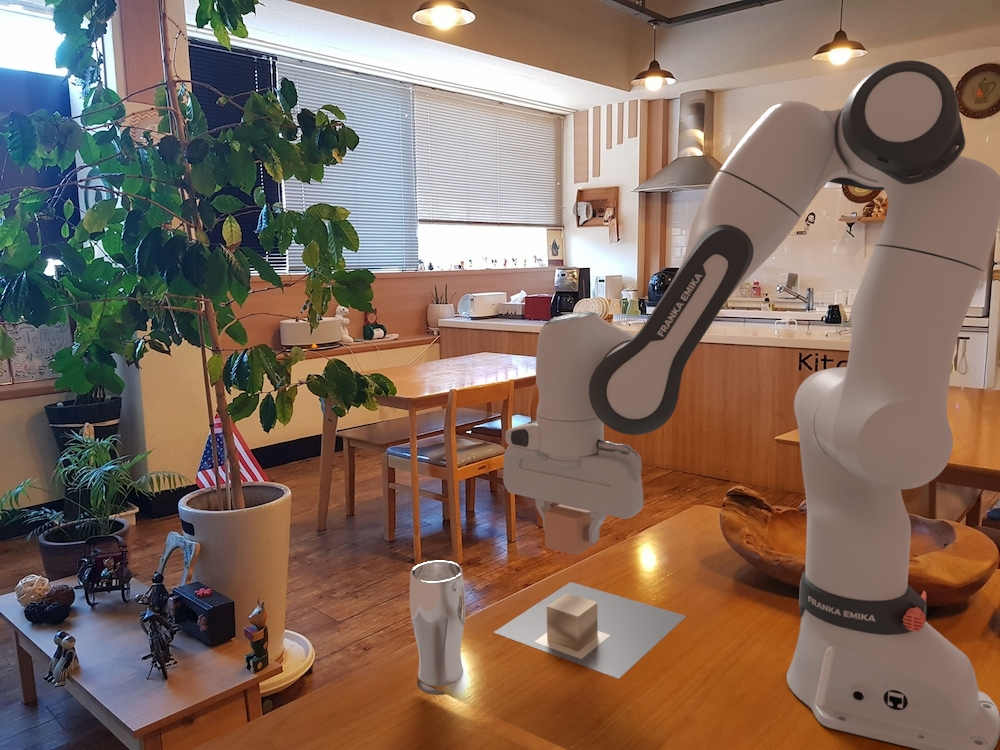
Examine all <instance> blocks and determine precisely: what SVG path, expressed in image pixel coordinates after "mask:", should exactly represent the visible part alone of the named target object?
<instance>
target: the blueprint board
mask: <svg viewBox="0 0 1000 750" xmlns="http://www.w3.org/2000/svg"><path fill="white" fill-rule="evenodd" d="M566 593H568V594H572V595H575V596H578V597H582V598H585V599H588V600H591V601H595V602H597V619H598V636H597V637H596V638H595V639H594V640H592V641H591V642H590V643H588V644H587V645H586V646H585V647H583V648H582V649H581V650H580V651H575V650H572V649H569V648H567V647H564V646H561V645H558V644H555V643H553V642H550V641H547V606H548V605H550V604H551V603H553V602H554V601H556V600H557V599H559V598H560V597H562V596H563V595H565V594H566ZM686 618H687V615H684V614H681V613H677V612H674V611H672V610H667V609H664V608H661V607H657V606H654V605H650V604H647V603H643V602H640V601H636V600H633V599H630V598H627V597H626V598H625V597H624V596H620V595H616V594H614V593H611V592H610V593H609V592H606V591H603V590H599V589H596V588H593V587H588V586H586V585H583V584H579V583H576V582H572V581H570V582H568V583H567V584H565V585H563V586H562V587H560V588H558V590H555V592H553V593H551V594H549V595H548V596H547V597H545V598H543V600H541V601H539V602H537V603H536V604H535V605H533V606H531V607H530V608H528V609H527V610H526V611H524V612H522V613H521V614H519V615H518V616H516V617H515V618H513V619H511V620H510V621H508V622H507V623H505V624H504V625H502V626H500V627H499V628H498V629H497V630H496V629H495V631H493V633H494V634H497V635H499V636H502V637H503V638H507V639H510V640H513V641H515V642H517V643H521V644H523V645H526V646H528V647H531V648H534V649H536V650H539V651H542V652H544V653H548V654H550V655H552V656H556V657H558V658H561V659H563V660H566V661H569V662H571V663H574V664H577V665H580V666H582V667H586V668H587V669H590V670H593V671H596V672H598V673H601V674H604V675H607V676H610V677H611V678H615V679H618V680H619V679H620V678H622V677H623V676H624V675H625V674H626V673H627V672H628V671H629V670H631V668H632V667H634V665H636V663H638V662H639V661H641V660H642V658H643V657H644V656H646V654H648V653H649V651H651V650H652V649H653V648H654V647H655V646H657V644H658V643H659V642H660V641H662V640H663V639H664V638H665V637H666V636H667V635H668V634H669V633H670V632H672V630H674V629H675V627H677V626H678V625H679V624H680V623H681V622H683V620H685V619H686Z"/></svg>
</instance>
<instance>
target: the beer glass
mask: <svg viewBox="0 0 1000 750" xmlns="http://www.w3.org/2000/svg"><path fill="white" fill-rule="evenodd" d="M463 573H464V572H463V568H462V566H461V565H460V564H458V563H456V562H453V561H449V560H430V561H427V562H422V563H420V564H417V565H415V566H414V567H413V568H411V570H410V572H409V578H410V579H409V610H410V619H411V624H412V630H413V633H414V637H415V641H416V646H417V651H418V657H419V658H418V660H419V661H418V662H419V663H418V671H417V678H418V680H416V684H417V687H418V688H419V690H421V691H422V692H423V693H425V694H429V695H432V696H445V695H446V693H445V692H443V691H441V690H438V689H436V688H434V687H444V686H449V685H452V684H455V683H456V682H458V681H459V680H460V679H461V678H462V677H463V676H464V667H463V664H462V663H463V662H462V654H461V651H462V649H461V648H462V640H463V634H464V628H465V619H466V593H465V592H466V591H465V582H464V574H463ZM431 686H432V687H431Z"/></svg>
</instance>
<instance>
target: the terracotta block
mask: <svg viewBox="0 0 1000 750" xmlns="http://www.w3.org/2000/svg"><path fill="white" fill-rule="evenodd" d="M593 520H594V519H591V518H590V511H587V510H583V509H579V508H574V507H570V506H565V505H561V504H557V505H555V506H553V507H551V509H549V510H547V511H545V531H544V548H547V549H551V550H555V551H558V552H561V553H565V554H569V555H572V556H579V555H580V554H582V553H584V552H585V551H587V550H589V549H590V548H592V547H594V546H595V545H597V542H595V543H591V542H587V541H584V540H583V536H584V534H583V529H584V528H586V527H587V526H589V525H591V524H592V522H593Z"/></svg>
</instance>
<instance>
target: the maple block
mask: <svg viewBox="0 0 1000 750" xmlns="http://www.w3.org/2000/svg"><path fill="white" fill-rule="evenodd" d="M597 636H598V619H597V602H595V601H591V600H588V599H585V598H582V597H578V596H575V595H572V594H568V593H566V594H565V595H563V596H562V597H560V598H559V599H557V600H556V601H554V602H553V603H551V604H550V605H548V606H547V641H550V642H553V643H555V644H558V645H561V646H564V647H567V648H569V649H572V650H575V651H580V650H581V649H582V648H583V647H585V646H586V645H587V644H588V643H590V642H591V641H592V640H594V639H595V638H596V637H597Z"/></svg>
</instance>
